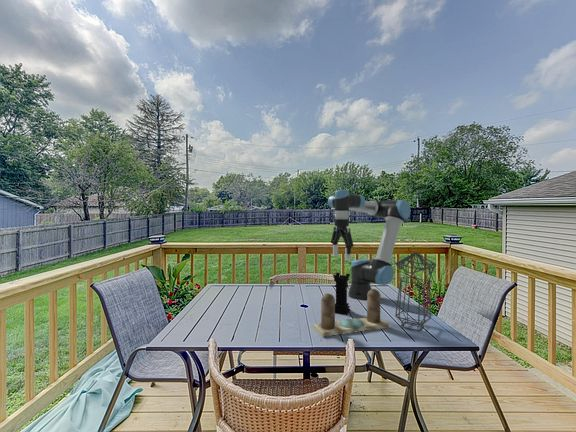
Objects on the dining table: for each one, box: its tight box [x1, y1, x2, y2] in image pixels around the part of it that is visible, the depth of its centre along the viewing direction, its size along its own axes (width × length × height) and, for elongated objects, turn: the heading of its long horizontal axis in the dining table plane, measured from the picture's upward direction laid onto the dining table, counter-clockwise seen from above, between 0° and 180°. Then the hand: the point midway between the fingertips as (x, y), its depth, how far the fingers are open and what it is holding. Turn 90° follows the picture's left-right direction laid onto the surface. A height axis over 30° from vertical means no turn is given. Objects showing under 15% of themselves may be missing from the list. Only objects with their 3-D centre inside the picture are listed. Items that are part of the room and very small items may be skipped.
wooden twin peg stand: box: [312, 288, 390, 338], centre depth 139 cm, size 34×11×17 cm, turn 109°
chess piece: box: [332, 272, 351, 316], centre depth 162 cm, size 8×8×20 cm
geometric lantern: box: [394, 251, 437, 332], centre depth 141 cm, size 16×16×35 cm
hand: (341, 258), depth 162 cm, fingers open, 13 cm apart
